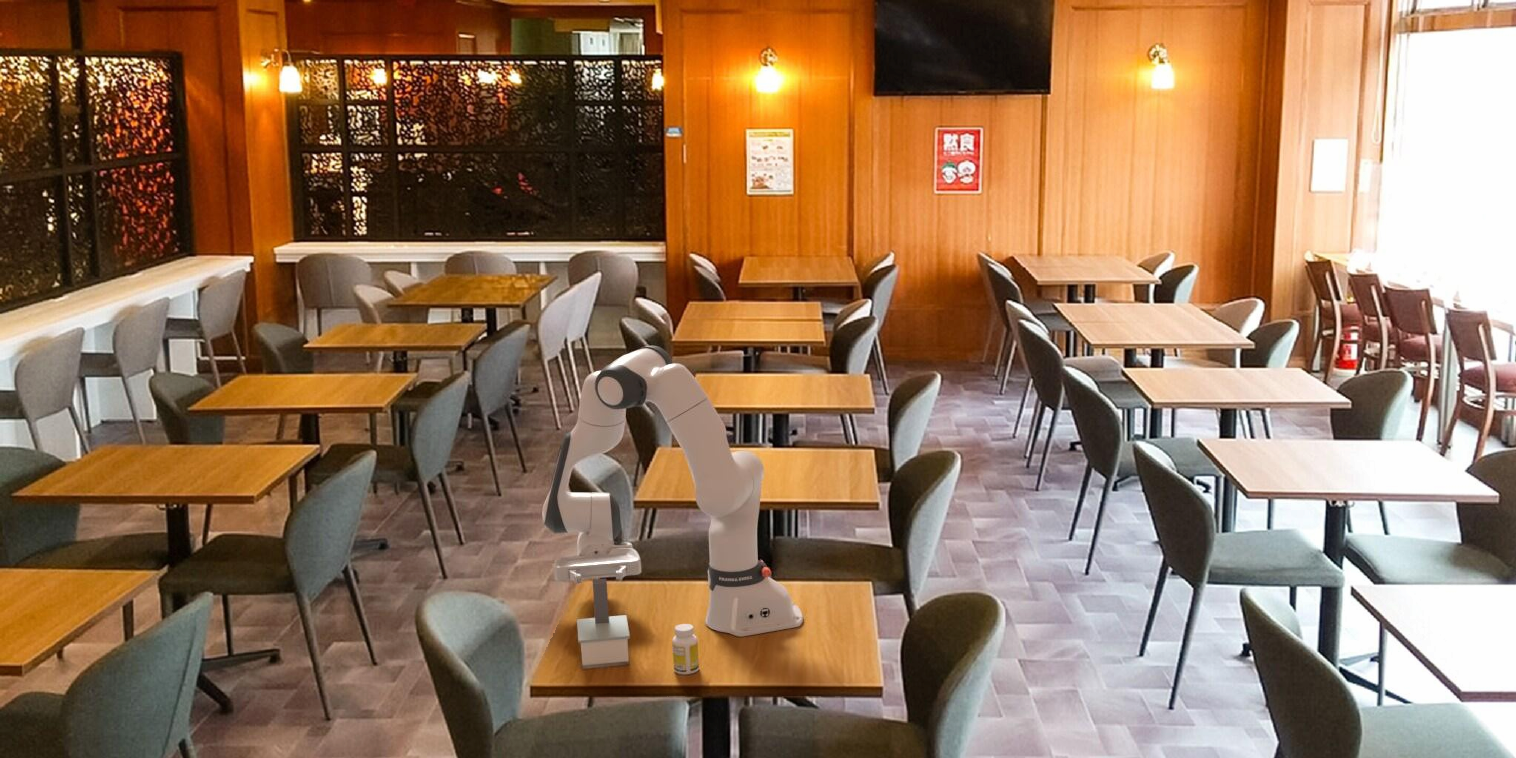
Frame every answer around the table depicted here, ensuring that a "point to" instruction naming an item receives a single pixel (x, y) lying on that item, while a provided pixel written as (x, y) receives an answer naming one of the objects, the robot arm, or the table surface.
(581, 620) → the carton lid
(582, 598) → the table surface
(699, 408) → the robot arm
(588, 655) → the carton
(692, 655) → the supplement bottle
